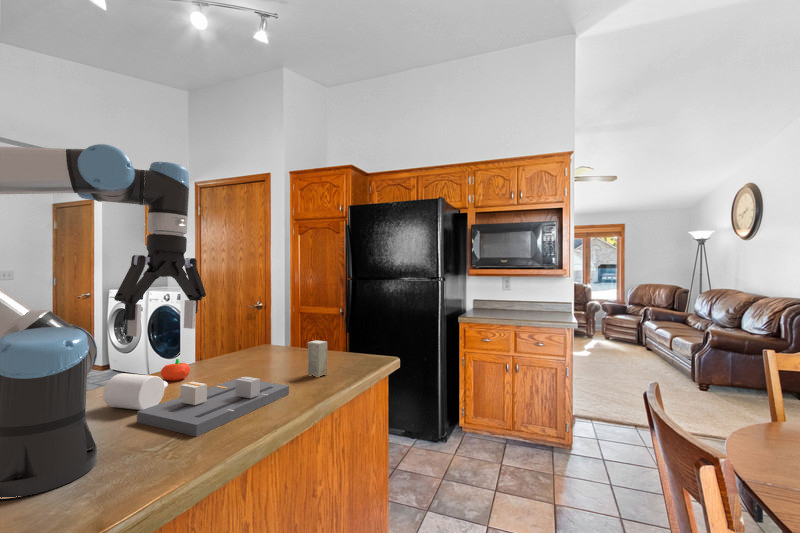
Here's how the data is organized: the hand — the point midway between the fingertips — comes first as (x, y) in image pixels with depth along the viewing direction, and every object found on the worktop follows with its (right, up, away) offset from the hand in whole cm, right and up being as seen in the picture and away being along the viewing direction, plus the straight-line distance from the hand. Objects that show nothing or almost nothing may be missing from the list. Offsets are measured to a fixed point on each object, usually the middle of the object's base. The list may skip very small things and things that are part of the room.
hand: (163, 331), depth 85 cm
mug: (-13, -21, +12) cm, 27 cm away
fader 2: (+14, -18, +12) cm, 26 cm away
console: (+7, -21, +12) cm, 25 cm away
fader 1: (+3, -18, +7) cm, 19 cm away
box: (+25, -22, +42) cm, 54 cm away
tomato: (-17, -21, +34) cm, 43 cm away
